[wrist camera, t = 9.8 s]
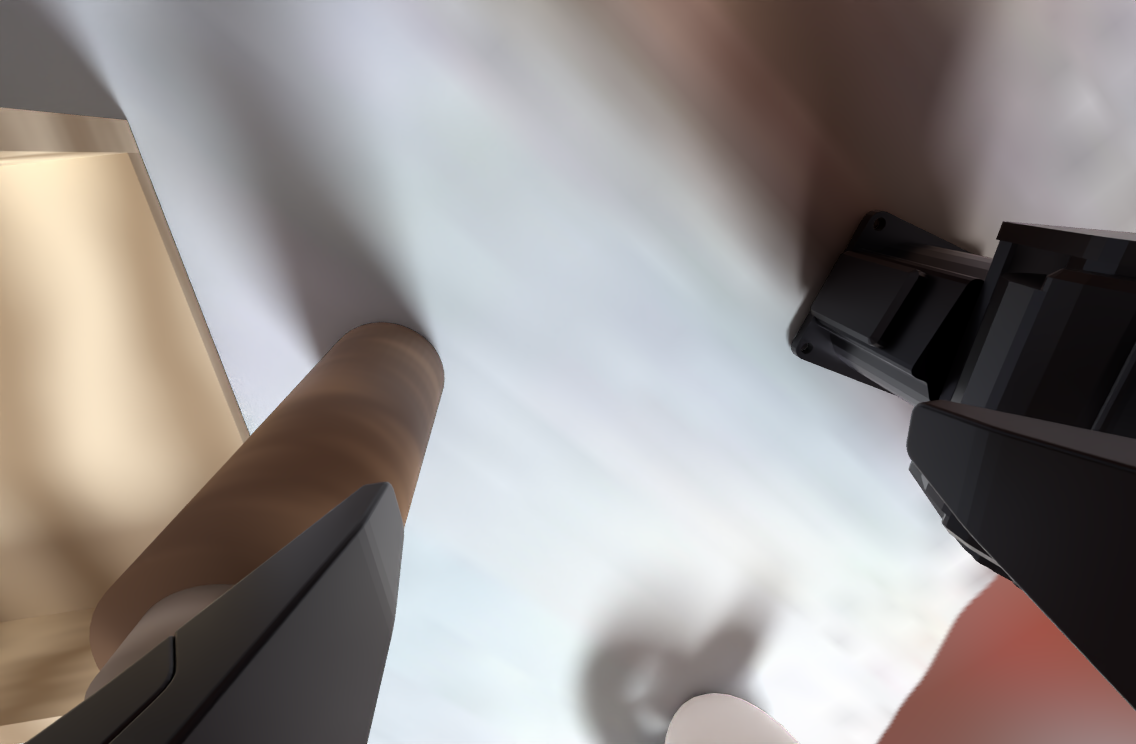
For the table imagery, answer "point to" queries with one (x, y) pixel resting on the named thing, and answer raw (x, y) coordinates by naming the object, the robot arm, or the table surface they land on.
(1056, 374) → the robot arm
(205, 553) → the pepper mill
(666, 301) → the table surface
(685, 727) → the white knot sculpture
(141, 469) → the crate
